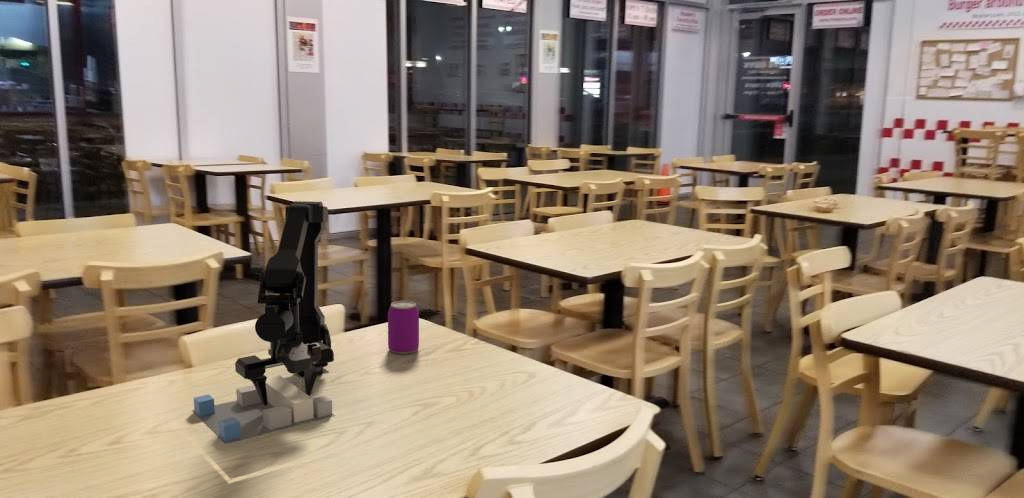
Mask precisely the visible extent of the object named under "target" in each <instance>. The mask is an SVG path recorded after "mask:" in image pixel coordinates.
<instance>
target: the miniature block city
mask: <svg viewBox="0 0 1024 498" xmlns="http://www.w3.org/2000/svg"><path fill="white" fill-rule="evenodd" d="M283 378H284V379H286V380H287V381H289V382H290V383H291V384H293V385H294V386H296V387H297V388H299V389H300V390H301V391H303V379H302V378H300V376H297V375H292V376H288V377H283ZM312 398H313V415H314V418H311V419H307V420H303V421H299V422H295V423H294V422H293V421H292V420H291V409H289V408H288V407H287V406H285V405H283V406H278V407H274V406H273V405H271V404H270V403H269V402H268V401H267V406H264V405H263V403H262V401H261V399H260V396H259V394H258V392H257V390H256V388H255V386H254V384H249V385H246V386H242V387H237V388H236V400H233V401H228V402H223V403H218V404H215V398H214V397H213V396H212V395H210V394H203V395H200V396H199V395H198V396H196V397H193V406H194V407H193V408H194V409H192V410H191V412H192V413H194V415H195V416H196V417H198V418H199V419H200V420H201V421H202V423H204V424H205V425H206V427H208V428H209V429H210V430H211V431H212V432H213V433H214V434H215V435H216V436H217V437H218V438H219V439H220V441H222V442H223V443H224V444H225V445H227V444H230V443H234V442H239V441H242V440H245V439H250V438H253V437H254V438H255V437H258V436H262V435H266V434H271V433H273V432H276V431H282V430H286V429H290V428H293V427H297V426H301V425H305V424H308V423H312V422H316V421H321V420H324V419H328V418H333V417H336V414H334V413H333V399H331V398H330V397H329V396H327V395H322V396H321V395H320V396H317V397H312Z"/></svg>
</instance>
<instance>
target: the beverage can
mask: <svg viewBox="0 0 1024 498" xmlns="http://www.w3.org/2000/svg"><path fill="white" fill-rule="evenodd" d="M419 346H420V311H419V308H418V306H417V303H416V302H414V301H410V300H398V301H393V302H392V303H391V304H390V306H389V309H388V312H387V348H388V349H389V351H391V353H393V354H396V353H397V355H408V354H407V353H410V354H413V353H415V352H416V351H417V350H418V349H419ZM412 352H413V353H412Z"/></svg>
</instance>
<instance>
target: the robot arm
mask: <svg viewBox="0 0 1024 498" xmlns="http://www.w3.org/2000/svg"><path fill="white" fill-rule="evenodd" d="M328 208H329V207H328V206H324V204H323V202H322V201H301V200H300V201H299V200H298V201H296V200H294V201H293V202H292V203H291V204H289V205H285V208H284V212H285V213H284V214H285V215H284V226H283V229H282V233H281V237H280V240H279V244H278V247H277V251H276V253H275V254H274V255H273V256H271V257H270V258H269V259H268V260H267V263H266V265H265V268H264V269H263V270H262V272H261V276H260V283H259V289H258V297H257V304H265V307H264V311H263V313H261V314H260V315H259V317H258V318H257V319H256V321H255V324H254V328H255V333H256V335H257V336H258V338H260V339H261V340H262V341H263V342H268V343H269V344H270V345H269V347H270V348H269V349H267V352H268V354H267V355H269V356H270V357H267V358H260V357H258V356H257V355H256V354H255V355H253V354H252V355H248V356H243V357H239V358H237V359H236V361H235V363H234V364H235V365H234V368H235V373H237V374H238V375H240V376H241V377H242V378H243V379H245V380H249V381H250V382H251V383H252V385H254V386H255V388H256V390H257V392H258V394H259V396H260V399H261V401H262V403H263V405H264V406H267V392H266V380H267V378H268V377H267V376H266V375H265V374H266V372H267V370H266V369H271V368H275V367H280V366H284V367H285V368H286V371H287V372H288V373H290V374H296V375H298V377H301V379H302V378H303V379H304V389H305V393H306V394H307V395H308V396H310V397H311V394H312V391H313V389H314V385H315V382H316V379H317V377H318V376H320V375H323V374H328V373H330V371H329V370H327V369H326V368H325V367H328V366H329V363H332V362H334V360H335V353H334V351H333V349H332V338H331V335H330V330H329V329H328V326H327V325H328V324H326V320H325V319H326V318H325V315H324V313H323V311H322V309H321V308H320V306H319V305H318V304H319V303H318V302H319V301H318V299H319V298H318V297H319V293H318V292H319V291H318V289H319V288H318V286H319V285H318V283H319V282H318V281H319V280H318V279H319V278H318V277H319V273H318V272H319V267H318V266H319V263H318V262H319V240H320V238H321V237H322V235H323V234H324V232H325V230H326V224H327V222H328V220H329V209H328ZM266 293H268V294H266Z"/></svg>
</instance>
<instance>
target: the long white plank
mask: <svg viewBox="0 0 1024 498" xmlns="http://www.w3.org/2000/svg"><path fill="white" fill-rule="evenodd" d="M284 378H285V377H283V376H281V375H279V374H278V375H275V376H270V377H267V380H266V392H267V401H268V402H269V403H270V404H271V405H273V406H274V407H278V406H283V405H285V406H287V407H288V408H289V409H291V420H292V421H293V422H294V423H295V422H299V421H303V420H307V419H311V418H314V415H313V398H314V397H311V395H310V396H308V395H307V394H306V392H304V391H303V390H302V391H301V390H300V389H299V388H297V387H296V386H294V385H293V384H291V383H290V382H289V381H287V380H286V379H284Z"/></svg>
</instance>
